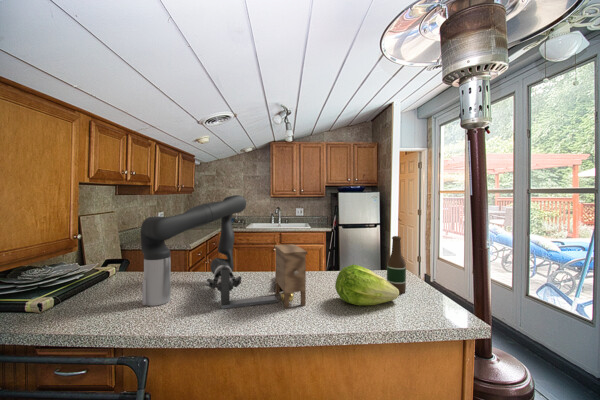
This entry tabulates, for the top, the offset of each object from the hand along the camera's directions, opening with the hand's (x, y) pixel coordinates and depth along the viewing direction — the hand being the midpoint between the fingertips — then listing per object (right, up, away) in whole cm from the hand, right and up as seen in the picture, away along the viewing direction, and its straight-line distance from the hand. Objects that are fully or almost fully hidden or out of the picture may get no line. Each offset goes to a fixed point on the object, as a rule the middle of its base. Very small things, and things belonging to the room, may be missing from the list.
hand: (225, 288), depth 99 cm
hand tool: (+18, -8, +31) cm, 37 cm away
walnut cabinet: (+23, -8, +10) cm, 26 cm away
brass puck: (+22, -8, +10) cm, 25 cm away
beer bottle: (+69, -8, +20) cm, 72 cm away
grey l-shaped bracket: (+8, -8, +6) cm, 12 cm away
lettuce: (+54, -8, +7) cm, 55 cm away
